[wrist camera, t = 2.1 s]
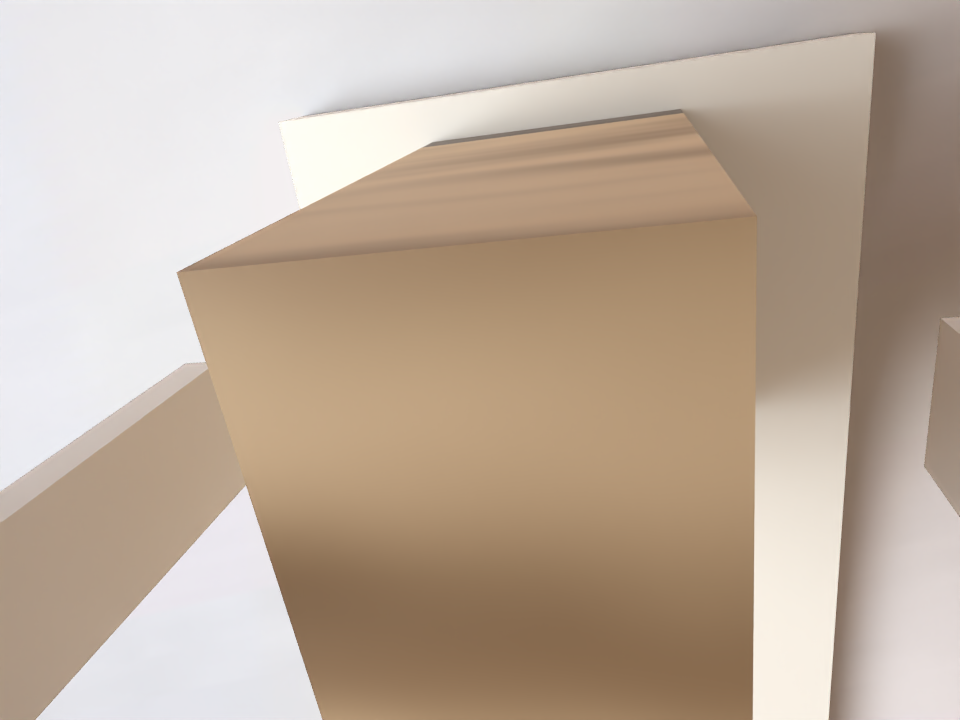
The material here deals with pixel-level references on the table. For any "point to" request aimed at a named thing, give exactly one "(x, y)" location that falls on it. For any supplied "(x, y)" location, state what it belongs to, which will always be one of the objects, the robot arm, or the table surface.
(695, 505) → the block
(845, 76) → the board
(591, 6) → the table surface
